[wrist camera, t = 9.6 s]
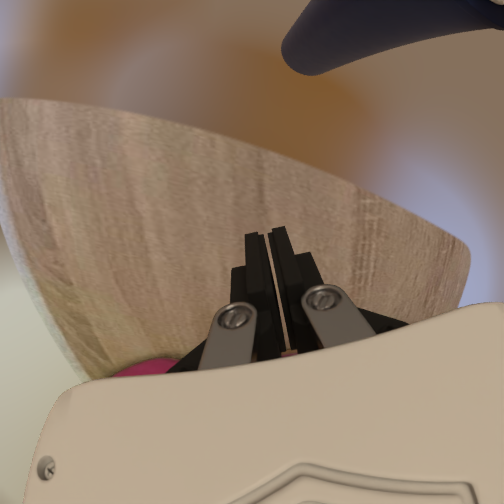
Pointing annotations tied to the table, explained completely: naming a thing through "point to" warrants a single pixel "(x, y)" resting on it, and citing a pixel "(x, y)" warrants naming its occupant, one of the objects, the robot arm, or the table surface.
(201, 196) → the table surface
